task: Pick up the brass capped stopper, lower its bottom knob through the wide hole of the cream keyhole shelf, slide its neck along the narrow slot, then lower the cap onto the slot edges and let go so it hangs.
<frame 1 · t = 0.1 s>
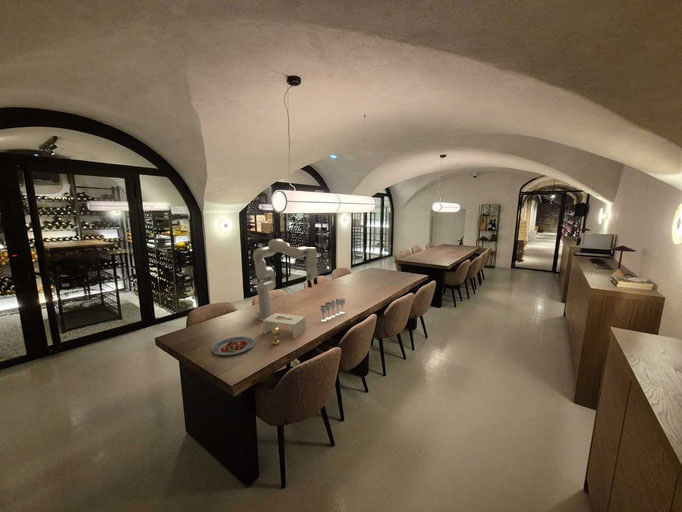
hand: (312, 285, 216), 31 cm above the table, fingers open, 9 cm apart
ceramic plate: (234, 348, 186), on the table
goblet set: (333, 316, 239), on the table
keyhole shelf: (285, 331, 210), on the table
brass capped stopper: (276, 343, 190), on the table
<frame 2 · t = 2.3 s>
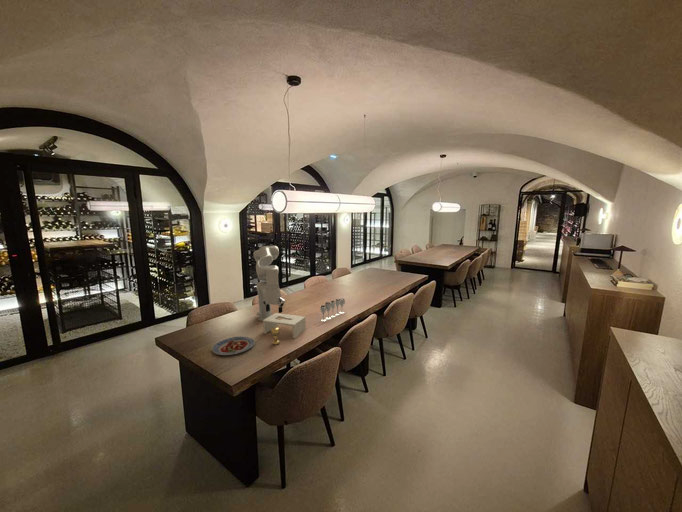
hand: (274, 311, 187), 22 cm above the table, fingers open, 9 cm apart
nothing on the table moved.
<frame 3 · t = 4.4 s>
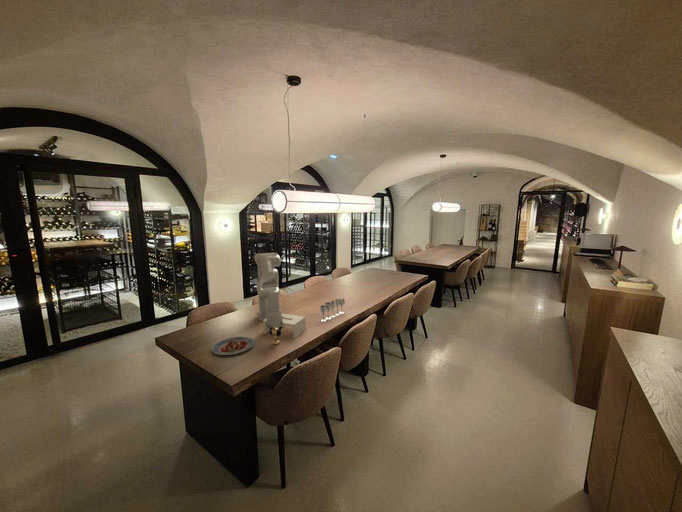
hand: (275, 334, 189), 6 cm above the table, fingers closed on brass capped stopper, 5 cm apart
brass capped stopper: (276, 343, 190), on the table, touching gripper
everything else where it was.
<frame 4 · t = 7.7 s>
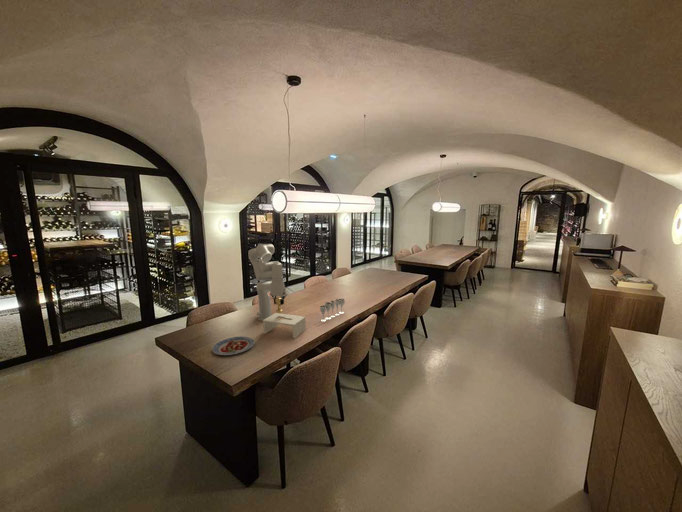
hand: (279, 303, 208), 21 cm above the table, fingers closed on brass capped stopper, 5 cm apart
brass capped stopper: (279, 312, 209), point 14 cm above the table, touching gripper
everything else where it was.
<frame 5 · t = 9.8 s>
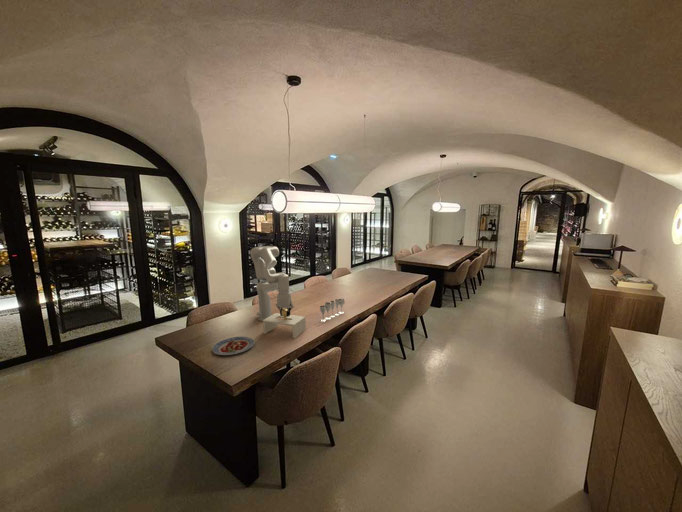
hand: (285, 315, 208), 12 cm above the table, fingers closed on brass capped stopper, 5 cm apart
brass capped stopper: (285, 323, 208), point 6 cm above the table, touching gripper
everything else where it was.
when the fingers open (11 cm above the table, at t = 11.4 s): brass capped stopper stays where it is, resting on keyhole shelf.
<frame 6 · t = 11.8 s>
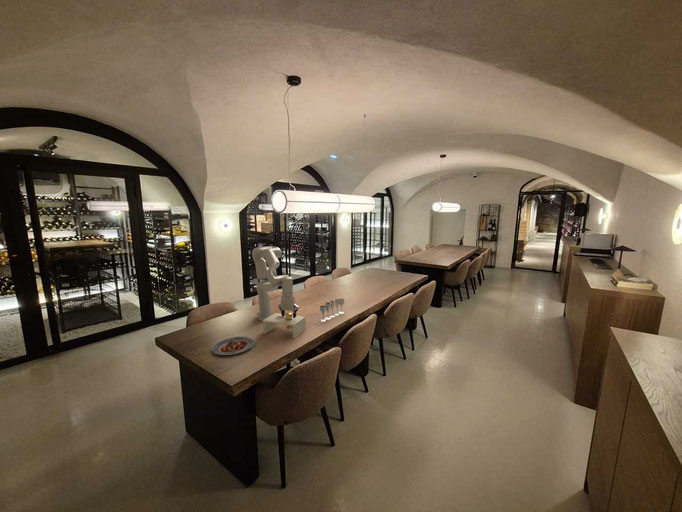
hand: (288, 316, 207), 12 cm above the table, fingers open, 9 cm apart
brass capped stopper: (289, 327, 208), point 3 cm above the table, touching keyhole shelf
everything else where it was.
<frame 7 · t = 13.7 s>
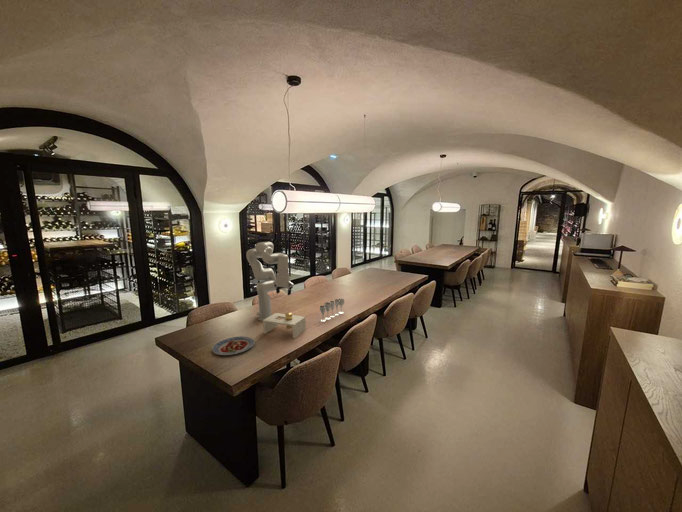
hand: (283, 293, 210), 27 cm above the table, fingers open, 9 cm apart
nothing on the table moved.
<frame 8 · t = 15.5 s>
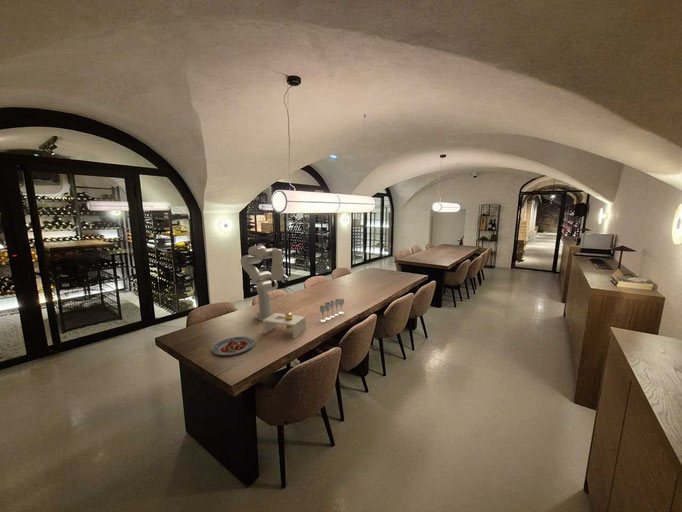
hand: (278, 287, 218), 30 cm above the table, fingers open, 9 cm apart
nothing on the table moved.
at the end: brass capped stopper 0.1 cm from the target spot on the keyhole shelf, point 3.5 cm above the keyhole shelf's base; brass capped stopper touching keyhole shelf; the gripper is holding nothing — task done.
